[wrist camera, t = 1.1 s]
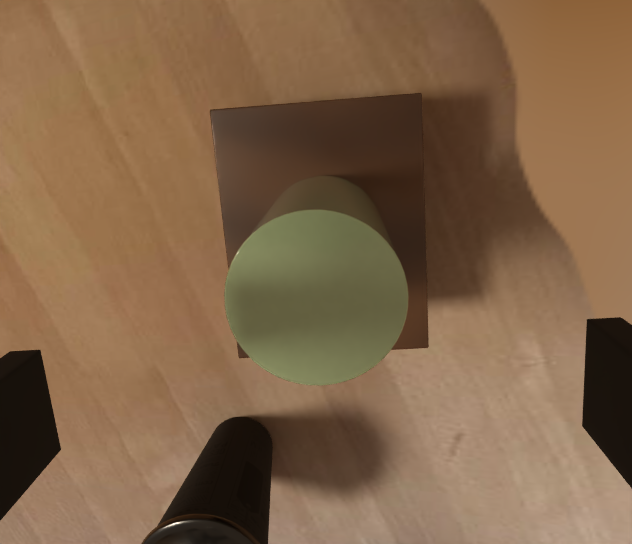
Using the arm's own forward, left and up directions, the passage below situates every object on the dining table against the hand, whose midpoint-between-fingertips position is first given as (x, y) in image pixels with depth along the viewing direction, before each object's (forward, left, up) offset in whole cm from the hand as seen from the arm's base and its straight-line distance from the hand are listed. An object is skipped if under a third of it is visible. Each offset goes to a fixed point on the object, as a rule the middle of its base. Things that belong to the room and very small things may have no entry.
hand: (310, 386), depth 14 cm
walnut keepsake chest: (0, 0, -27) cm, 27 cm away
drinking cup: (+18, -8, -28) cm, 34 cm away
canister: (0, 0, -18) cm, 18 cm away
